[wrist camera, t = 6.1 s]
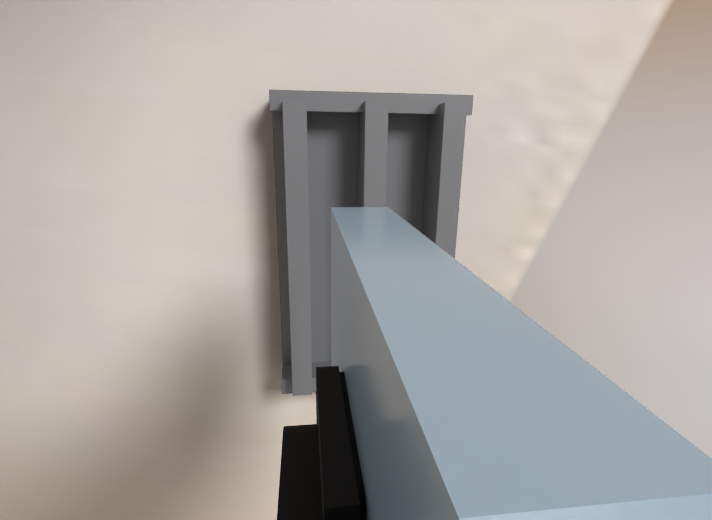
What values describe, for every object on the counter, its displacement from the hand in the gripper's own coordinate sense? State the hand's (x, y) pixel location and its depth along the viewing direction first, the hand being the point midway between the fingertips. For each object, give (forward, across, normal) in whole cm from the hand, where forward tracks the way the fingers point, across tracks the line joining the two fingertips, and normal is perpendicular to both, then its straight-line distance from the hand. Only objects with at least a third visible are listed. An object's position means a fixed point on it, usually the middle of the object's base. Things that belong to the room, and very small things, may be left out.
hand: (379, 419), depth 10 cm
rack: (+18, -2, 0) cm, 18 cm away
